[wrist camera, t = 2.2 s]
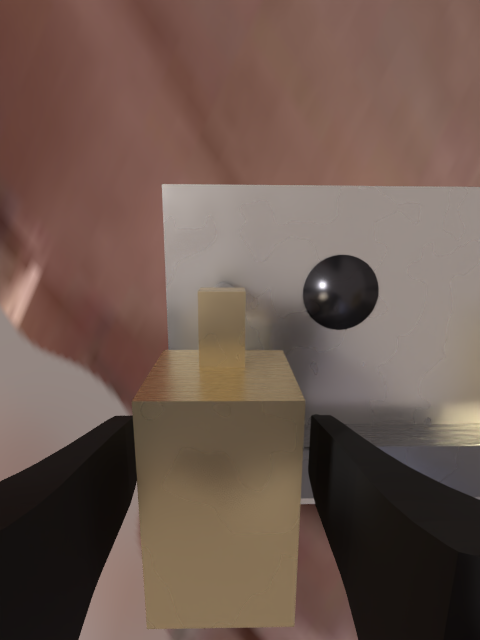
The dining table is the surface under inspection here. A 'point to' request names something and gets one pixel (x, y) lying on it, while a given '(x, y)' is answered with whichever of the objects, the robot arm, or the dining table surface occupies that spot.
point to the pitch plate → (348, 305)
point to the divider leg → (219, 477)
